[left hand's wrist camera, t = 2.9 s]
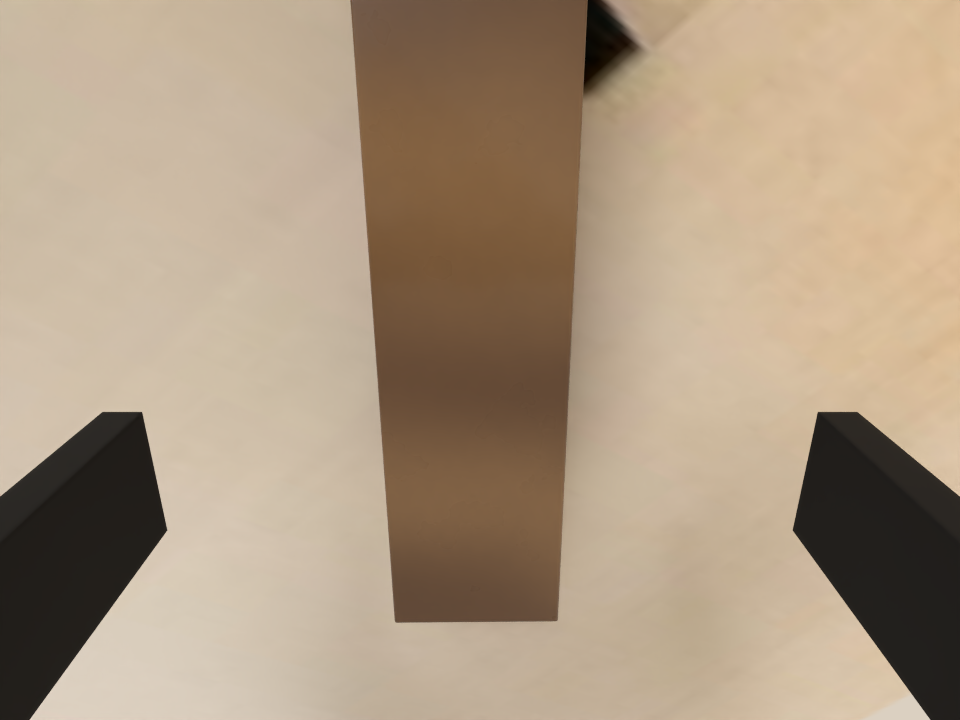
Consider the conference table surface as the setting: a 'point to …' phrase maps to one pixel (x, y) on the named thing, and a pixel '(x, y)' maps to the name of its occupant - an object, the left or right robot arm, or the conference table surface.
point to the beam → (472, 291)
